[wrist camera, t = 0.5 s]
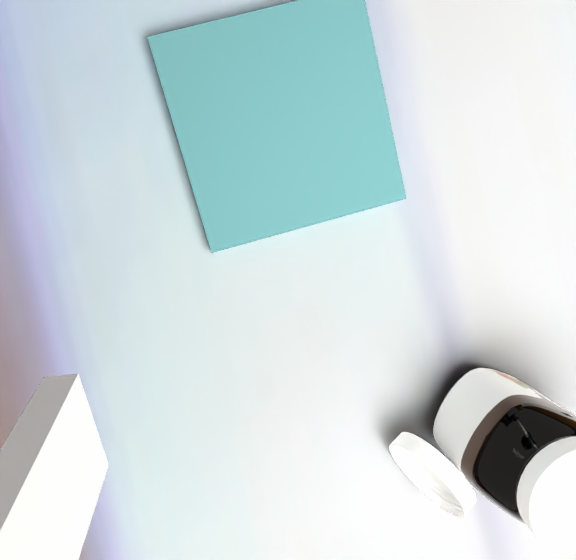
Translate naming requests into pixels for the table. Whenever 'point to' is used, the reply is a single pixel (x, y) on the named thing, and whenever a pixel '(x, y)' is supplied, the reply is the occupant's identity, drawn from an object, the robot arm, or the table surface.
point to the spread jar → (499, 455)
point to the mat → (280, 118)
